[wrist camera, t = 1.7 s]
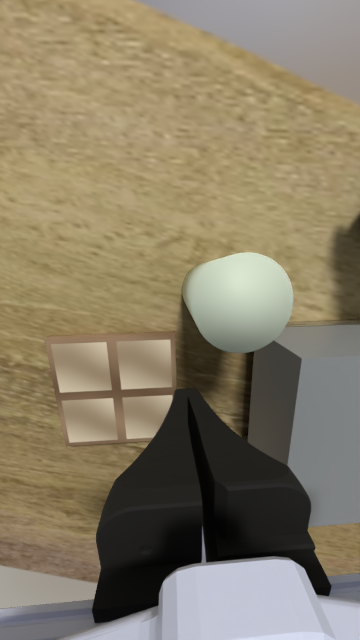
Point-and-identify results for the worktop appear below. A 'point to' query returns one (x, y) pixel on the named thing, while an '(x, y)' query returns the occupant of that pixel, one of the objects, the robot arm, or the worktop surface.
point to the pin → (239, 301)
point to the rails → (318, 323)
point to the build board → (112, 385)
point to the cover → (312, 414)
